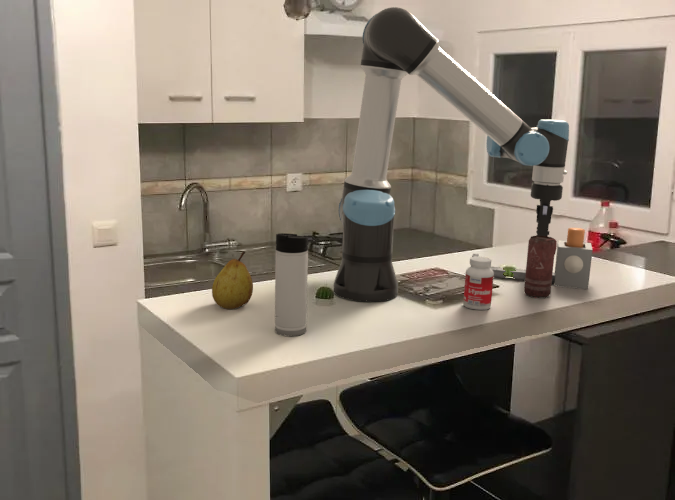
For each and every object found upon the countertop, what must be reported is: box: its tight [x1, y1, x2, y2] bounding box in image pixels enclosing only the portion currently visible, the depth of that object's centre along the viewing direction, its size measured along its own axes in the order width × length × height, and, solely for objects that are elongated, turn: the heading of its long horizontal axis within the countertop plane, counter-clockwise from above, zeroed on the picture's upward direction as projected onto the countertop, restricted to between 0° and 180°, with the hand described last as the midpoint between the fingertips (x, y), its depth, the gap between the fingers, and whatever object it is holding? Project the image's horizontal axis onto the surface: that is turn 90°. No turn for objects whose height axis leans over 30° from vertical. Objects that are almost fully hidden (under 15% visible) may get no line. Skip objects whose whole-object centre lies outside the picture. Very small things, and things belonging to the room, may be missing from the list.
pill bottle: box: [462, 256, 495, 311], centre depth 163 cm, size 6×6×11 cm
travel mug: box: [274, 232, 309, 337], centre depth 142 cm, size 6×7×20 cm
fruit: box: [211, 251, 254, 310], centre depth 158 cm, size 9×9×12 cm
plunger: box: [566, 227, 586, 248], centre depth 183 cm, size 4×4×6 cm
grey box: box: [553, 239, 593, 290], centre depth 184 cm, size 8×8×10 cm
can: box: [523, 235, 558, 299], centre depth 173 cm, size 6×6×14 cm
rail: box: [471, 253, 555, 284], centre depth 188 cm, size 21×3×5 cm, turn 75°
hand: (538, 265), depth 186 cm, fingers open, 13 cm apart
